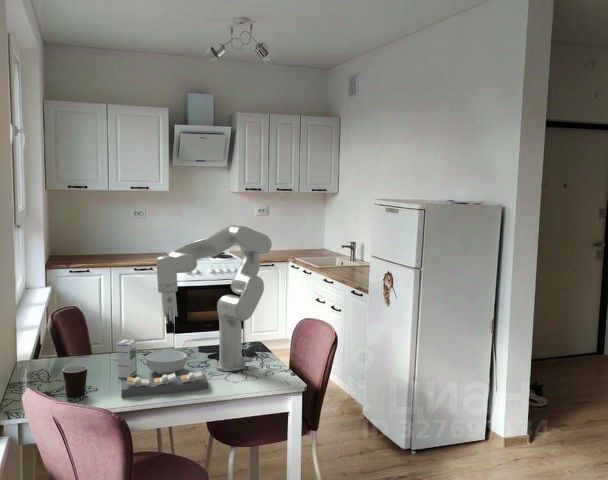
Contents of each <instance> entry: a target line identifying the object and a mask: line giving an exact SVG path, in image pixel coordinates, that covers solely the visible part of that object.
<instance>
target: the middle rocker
mask: <svg viewBox="0 0 608 480" xmlns="http://www.w3.org/2000/svg"><path fill="white" fill-rule="evenodd" d="M176 376H177V375H176V372H175V373H173V374H168V375H166V374H165V375H162V376H161V377H155V378H156V379H154V382H155V386H157V385H160V384H168V383H169V381H172V380H175V379H176Z"/></svg>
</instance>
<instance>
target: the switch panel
mask: <svg viewBox="0 0 608 480" xmlns="http://www.w3.org/2000/svg"><path fill="white" fill-rule="evenodd" d="M202 375H203V378H199V379H195V381H194V382H191V381H187V382H183V383H182V380H181V376H182V375H176V379H175V380H172V381H169V383H168V384H160V385H157V386H155V382H154V379H156V378H157V377H153V378H152V377H151V378H148V379H149V386H145V385H141V386H139V387H137V386H135V385H132V384H127V380H121V386H120V387H121V392H120V393H121V396H120V397H121V398H123V399H124V398H132V397H134V398H135V397H144V396H152V395H153V396H154V395H164V394H174V393H185V392H195V391H197V392H198V391H206V390H207V391H208V390H209V380H208V377H207V375H206V373H202Z"/></svg>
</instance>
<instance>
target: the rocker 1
mask: <svg viewBox="0 0 608 480" xmlns="http://www.w3.org/2000/svg"><path fill="white" fill-rule="evenodd" d="M149 379H150V378H141V376H136V377H134V376H132V377H127V378H126V381H127V384H132V385H135V386H137V387H139V386H141V385H145V386H149Z"/></svg>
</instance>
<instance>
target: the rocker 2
mask: <svg viewBox="0 0 608 480" xmlns="http://www.w3.org/2000/svg"><path fill="white" fill-rule="evenodd" d="M202 374H203V373H202V371H198V372H192V371H191V372H189V373H188V374H183V375H180V376H181V380H182V383H183V382H187V381H191V382H194V381H195V379H199V378H203V375H202Z"/></svg>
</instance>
